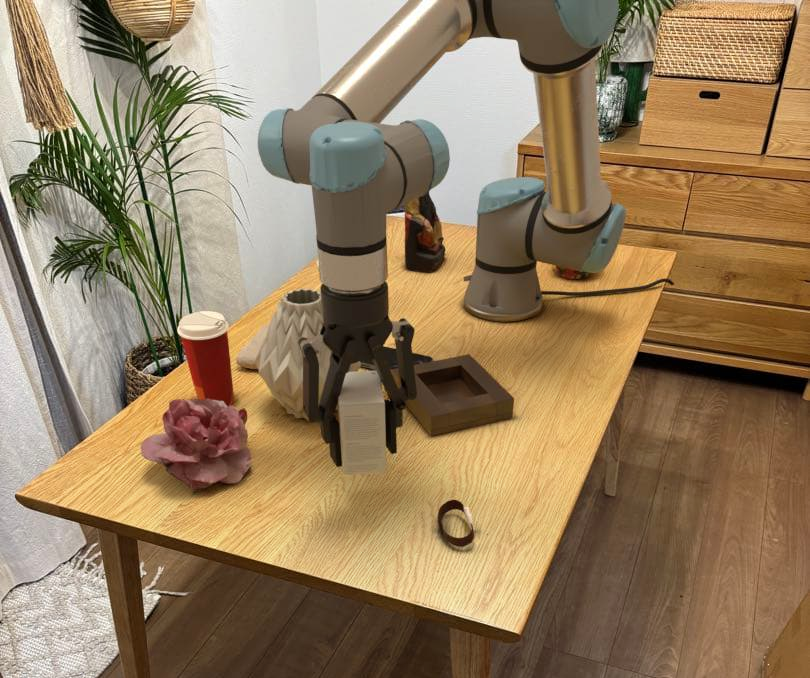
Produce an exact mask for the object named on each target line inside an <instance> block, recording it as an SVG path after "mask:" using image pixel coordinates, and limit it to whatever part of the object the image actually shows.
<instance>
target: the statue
mask: <svg viewBox="0 0 810 678" xmlns="http://www.w3.org/2000/svg"><path fill="white" fill-rule="evenodd" d="M442 227H443V226H442V222H441V219H440V217H439V215H438V214H437V207H436V205H435V203H434V201H433V199H432V198H431V196H430V192H429V193H427V194H426V195H424V196H421V197H419V198H416V199H414V200H412V201H410V202H408V203H406V204H404V264H405V268H406V269H407V270H410V271H416V272H421V273H422V272H423V273H432V272H435V271H436V270H437V268H439V267H440V265H441V264H442V262H443V261H444V260H445V255H446V246H445V245H444V244H443V242H444V236H443V232H442V230H443V229H442Z"/></svg>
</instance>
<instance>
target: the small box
mask: <svg viewBox="0 0 810 678" xmlns="http://www.w3.org/2000/svg"><path fill="white" fill-rule="evenodd" d="M384 400H385V398H384V391H383V384H382V382H381V379H380V377H379V375H378V373H377V370H358V371H356V372H348V373H346V375H345V379H344V382H343V386H342V389H341V392H340V396H339V397H338V410H337V414H338V421H339V428H340V441H341V454H342V470H343V471H342V473H343V476H345V477H347V476H348V477H349V476H362V475H377V474H386V473H387V472H388V471H387V469H388V468H387V447H386V429H385V402H384Z"/></svg>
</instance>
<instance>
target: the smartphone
mask: <svg viewBox="0 0 810 678" xmlns="http://www.w3.org/2000/svg"><path fill="white" fill-rule="evenodd" d="M382 350H383V353H384V355H385V357H386V360H387V364H388V366H389V368H390V371H391V373H392V369H397V368H398V361H397V354H396V348H394V347H390V346H385V345H383V347H382ZM412 354H413V363H414V365H417V364H422V363H427V362H432V361H434V358H433V357H432V356H429V355H425V354H421V353H417V352H412ZM360 363H361V366H360V367H362V368H367V369H370V370H374V371H377V370H376V368H375V366H374V364H373V361H372V360H368V361H364V360H361V361H360Z"/></svg>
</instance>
